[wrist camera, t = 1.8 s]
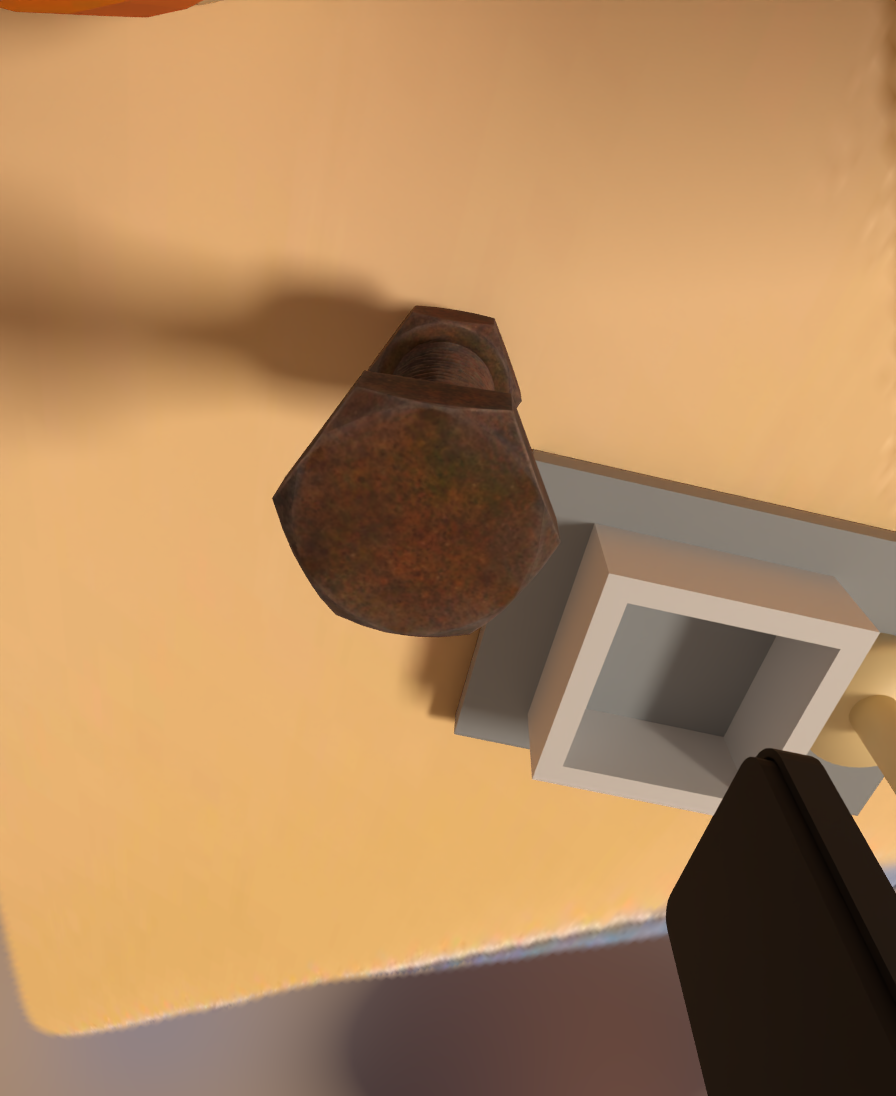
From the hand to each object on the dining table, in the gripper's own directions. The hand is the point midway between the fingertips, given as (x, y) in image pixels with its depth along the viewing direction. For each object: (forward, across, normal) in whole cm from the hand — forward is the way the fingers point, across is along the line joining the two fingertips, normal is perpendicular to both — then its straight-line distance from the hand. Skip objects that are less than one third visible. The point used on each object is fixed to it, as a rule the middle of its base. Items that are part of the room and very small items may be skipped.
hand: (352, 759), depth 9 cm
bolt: (+21, 0, 0) cm, 21 cm away
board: (+21, -14, +10) cm, 27 cm away
